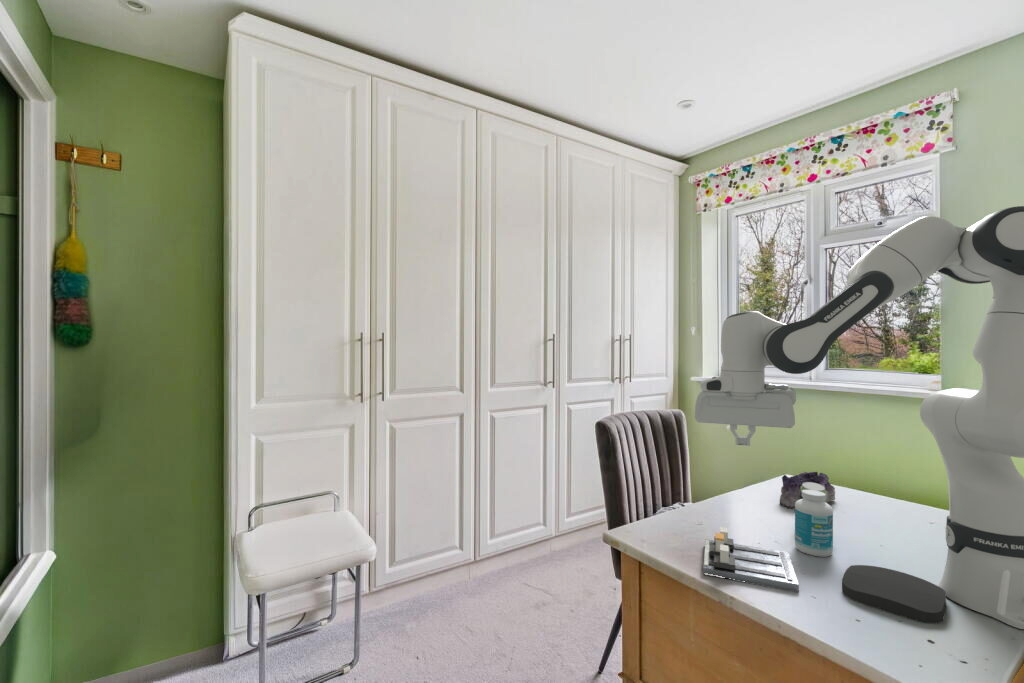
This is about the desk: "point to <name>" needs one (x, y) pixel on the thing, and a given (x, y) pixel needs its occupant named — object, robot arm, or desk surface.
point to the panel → (755, 566)
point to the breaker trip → (717, 545)
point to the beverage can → (812, 488)
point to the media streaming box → (895, 593)
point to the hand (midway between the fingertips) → (742, 444)
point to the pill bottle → (814, 524)
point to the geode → (794, 483)
